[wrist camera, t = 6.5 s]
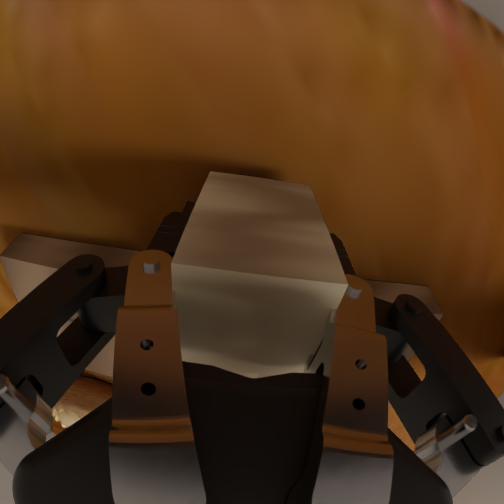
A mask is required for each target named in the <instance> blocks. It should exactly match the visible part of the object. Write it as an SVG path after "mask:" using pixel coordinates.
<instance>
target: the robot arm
mask: <svg viewBox="0 0 504 504" xmlns="http://www.w3.org/2000/svg"><path fill="white" fill-rule="evenodd" d="M195 204H196V202H190V201H188V202H187V203H186V205H185V207H184V209H183V212H182V213H180V212H172V213H171V214H169V215H167V216H166V217H165V218H164V219H163V221H162V223H161V226H160V227H159V228H158V230H157V232H156V234H155V236H154V237H153V239H152V241H151V243H150V245H149V247H148V249H147V250H145V251H141V252H139V253H137V254H135V255H134V256H133V257H132V258H131V260H130V262H129V265H126V266H120V267H108V268H105V264H104V261H103V259H102V258H101V257H99V256H97V255H93V254H83V255H79V256H76V257H74V258H72V259H71V260H70V261H68V262H67V263H66V264H64V265H63V266H62V267H61V268H59V269H58V270H57V271H55V272H54V273H53V274H52V275H50V276H49V277H48V278H47V279H46V280H44V281H43V282H42V283H41V284H39V285H38V286H37V287H36V288H35V289H34V290H32V291H31V292H30V293H29V294H28V295H27V296H25V297H24V298H23V299H22V300H21V301H20V302H18V303H17V304H16V305H15V306H14V307H13V308H12V309H11V310H10V311H8V312H7V313H6V314H5V315H4V316H3V317H2V318H1V319H0V461H1V463H2V464H3V465H4V466H5V467H6V468H7V469H8V470H9V472H10V473H11V474H12V475H13V476H14V478H13V497H14V501H15V504H453V501H452V498H453V497H454V496H455V495H456V494H457V493H458V492H459V491H460V490H461V489H462V488H463V487H464V486H465V485H466V484H467V483H468V482H469V481H470V480H471V479H472V478H473V477H474V476H475V475H476V474H477V473H478V472H479V470H480V469H482V468H484V467H485V466H487V465H489V464H491V463H493V462H494V461H496V460H498V459H499V458H501V457H503V456H504V409H503V407H502V406H501V404H500V403H499V401H498V400H497V398H496V397H495V395H494V394H493V392H492V391H491V389H490V388H489V386H488V385H487V383H486V382H485V380H484V379H483V378H482V376H481V375H480V373H479V372H478V371H477V369H476V368H475V367H474V365H473V364H472V363H471V361H470V360H469V359H468V357H467V356H466V355H465V353H464V352H463V351H462V349H461V348H460V347H459V345H458V344H457V343H456V342H455V340H454V339H453V338H452V337H451V335H450V334H449V333H448V332H447V330H446V329H445V328H444V327H443V325H442V324H441V323H440V322H439V321H438V319H437V318H436V317H435V316H434V315H433V313H432V312H431V311H430V310H429V309H428V308H427V306H426V305H425V304H424V303H423V302H422V301H421V300H419V299H418V298H416V297H415V296H412V295H409V294H400V295H398V296H397V297H396V299H395V301H394V302H393V303H391V302H388V301H385V300H382V299H379V298H377V297H374V293H373V290H372V288H371V286H370V285H369V284H368V283H367V282H366V281H365V280H363V279H361V278H360V277H357V276H356V275H355V272H354V270H353V267H352V265H351V262H350V260H349V258H348V255H347V253H346V251H345V248H344V246H343V243H342V241H341V240H340V239H339V238H338V237H337V236H336V235H335V234H332V233H329V234H330V236H331V239H332V241H333V244H334V247H335V249H336V252H337V255H338V257H339V260H340V263H341V266H342V268H343V271H344V274H345V277H346V279H347V282H348V286H347V289H346V291H345V293H344V295H343V298H342V300H341V302H340V304H339V306H338V308H337V309H331V311H330V313H329V315H328V318H327V320H326V325H325V332H324V337H323V339H322V341H321V343H320V345H319V347H318V349H317V351H316V353H315V355H309V357H308V359H307V361H306V363H305V367H304V372H303V373H293V372H292V373H286V374H280V375H274V376H268V377H261V378H249V377H246V376H243V375H240V374H236V373H233V372H230V371H227V370H225V369H222V368H219V367H216V366H213V365H206V364H199V363H192V362H185V361H182V355H181V346H180V336H179V326H178V315H177V304H176V296H175V290H172V274H171V262H172V260H173V257H174V254H175V252H176V249H177V247H178V244H179V242H180V240H181V237H182V235H183V232H184V230H185V227H186V225H187V223H188V220H189V218H190V215H191V213H192V211H193V208H194V206H195ZM76 312H77V314H78V317H77V318H76V319H75V320H74V321H73V322H72V323H71V324H70V325H69V326H68V327H67V328H66V329H65V330H64V331H63V332H62V333H61V334H60V335H59V336H58V337H57V334H58V331H59V330H60V328H61V327H62V326H63V325H64V324H65V323H66V322H67V321H68V320H69V319H70V318H71V317H72V316H73V315H74V314H75V313H76ZM114 336H115V345H114V361H113V384H112V397H111V398H110V399H108V400H107V401H105V402H104V403H103V404H101V405H100V406H98V407H97V408H95V409H94V410H93V411H91V412H90V413H88V414H87V415H85V416H84V417H82V418H81V419H80V420H78V421H77V422H75V423H74V424H72V425H71V426H69V427H68V428H66V429H65V430H63V431H62V432H60V433H59V434H57V435H56V436H55V437H53V438H51V439H50V440H48V441H47V442H46V436H47V435H49V434H50V433H51V431H52V421H53V414H52V408H53V407H54V406H55V405H56V403H57V402H58V401H59V400H60V398H61V397H62V396H63V395H64V394H65V392H66V391H67V390H68V389H69V388H70V386H71V385H72V384H73V383H74V382H75V380H76V379H77V378H78V377H79V376H80V375H81V373H82V372H83V371H84V370H85V369H86V368H87V366H88V365H89V364H90V363H91V362H92V361H93V359H94V358H95V357H96V356H97V355H98V354H99V353H100V351H101V350H102V349H103V348H104V347H105V346H106V345H107V343H108V342H109V341H110V340H111V339H112V338H113V337H114ZM409 346H410V347H411V348H412V350H413V351H414V352H415V354H416V355H417V357H418V358H419V359H420V361H421V362H422V364H423V365H424V367H425V370H426V376H425V378H424V380H423V381H421V380H420V378H419V377H418V375H417V374H416V373H415V371H414V370H413V368H412V367H411V365H410V364H409V362H408V361H407V360H406V358H405V357H404V355H403V353H404V352H405V351H406V350H407V348H408V347H409ZM388 400H389V402H390V403H391V405H392V407H393V408H394V410H395V412H396V413H397V415H398V417H399V418H400V420H401V422H402V423H403V425H404V427H405V428H406V430H407V432H408V433H409V435H410V437H411V438H412V440H413V442H414V444H415V450H414V451H412V450H411V449H410V448H409V447H408V446H407V445H405V444H404V443H403V442H402V441H401V440H400V439H399V438H398V437H397V436H396V435H395V434H394V433H393V432H392V431H391V430H390V429H389V428H388Z"/></svg>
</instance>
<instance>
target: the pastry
mask: <svg viewBox="0 0 504 504" xmlns="http://www.w3.org/2000/svg"><path fill="white" fill-rule="evenodd" d="M111 397H112V385H111V384H109V383H106V382H104V381H100V380H97V379H94V378H90V377H83V376H79V377H78V378H77V379H76V380H75V382H74V383H73V384H72V385H71V386H70V388H69V389H68V390H67V391H66V392H65V394H64V395H63V396H62V397H61V398H60V400H59V401H58V402H57V403H56V405H55V406H54V407H53V408H52V414H53V417H54V418H55V420H56V421H57V422H58V421H60V422H61V424H62V426H63V427H64V428H66V427H69V426H71V425H72V424H74V423H75V422H77V421H78V420H80V419H81V418H82V417H84V416H85V415H87V414H88V413H90V412H91V411H93V410H94V409H95V408H97V407H98V406H100V405H101V404H103V403H104V402H105V401H107V400H108V399H110V398H111Z"/></svg>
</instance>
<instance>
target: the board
mask: <svg viewBox="0 0 504 504" xmlns="http://www.w3.org/2000/svg"><path fill="white" fill-rule="evenodd" d="M139 252H141V251H136V250H129V249H122V248H115V247H109V246H102V245H95V244H88V243H81V242H75V241H68V240H62V239H55V238H49V237H42V236H36V235H29V234H23V233H21V234H20V235H19V236H18V237H17V238H16V239H15V240H14V241H13V242H12V243H11V244H10V245H9V246H8V247H7V248H6V249H5V250H4V251H3V252H2V253H1V255H0V259H1V261H2V264H3V267H4V269H5V272H6V274H7V277H8V279H9V282H10V284H11V286H12V289H13V291H14V293H15V295H16V298H17V300H18V302H20V301H21V300H22V299H23V298H24V297H25V296H27V295H28V294H29V293H30V292H31V291H32V290H34V289H35V288H36V287H37V286H38V285H39V284H41V283H42V282H43V281H44V280H46V279H47V278H48V277H49V276H50V275H52V274H53V273H54V272H55V271H57V270H58V269H59V268H61V267H62V266H63V265H64V264H66V263H67V262H68V261H70V260H71V259H72V258H74V257H76V256H79V255H83V254H93V255H97V256H99V257H101V258H102V259H103V261H104V264H105V268H108V267H120V266H126V265H129V262H130V260H131V258H132V257H133V256H134V255H135V254H137V253H139ZM363 280H365V279H363ZM365 281H366V282H367V283H368V284H369V285H370V286H371V288H372V290H373V293H374V297H377V298H379V299H382V300H385V301H388V302H391V303H393V302H394V301H395V299H396V297H397V296H398V295H400V294H409V295H412V296H415V297H416V298H418V299H419V300H421V301H422V302H423V303H424V304H425V305H426V306H427V308H428V309H429V310H430V311H431V312H432V313H433V315H434V316H435V317H436V318H437V319H438V321H439V320H440V319H441V318H442V316H443V315H444V314H443V312H442V310H441V308H440V307H439V305H438V303H437V301H436V300H435V298H434V296H433V294H432V293H431V291H430V289H429V287H428V286H420V285H411V284H401V283H392V282H383V281H374V280H365ZM77 317H78V314H77V312H76V313H75V314H74V315H73V316H72V317H71V318H70V319H69V320H68V321H67V322H66V323H65V324H64V325H63V326H62V327H61V328H60V330H59V331H58V334H57V337H58V336H59V335H60V334H61V333H62V332H63V331H64V330H65V329H66V328H67V327H68V326H69V325H70V324H71V323H72V322H73V321H74V320H75V319H76V318H77ZM114 345H115V336H114V337H113V338H112V339H111V340H110V341H109V342H108V343H107V345H106V346H105V347H104V348H103V349H102V350H101V351H100V353H99V354H98V355H97V356H96V357H95V358H94V359H93V361H92V362H91V363H90V364H89V365H88V366H87V368H86V369H85V370H88V371H92V372H95V373H99V374H102V375H106V376H110V377H113V361H114ZM414 354H415V352H414V351H413V350H412V348H411V347H410V346H409V347H408V348H407V350H406V351H405V352H404V353H403V355H404V357H405V358H406V360H407V361H409V360H410V359H411V357H412V356H413V355H414ZM268 376H274V375H268V374H258V377H257V378H261V377H268Z"/></svg>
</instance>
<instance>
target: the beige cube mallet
mask: <svg viewBox="0 0 504 504" xmlns="http://www.w3.org/2000/svg"><path fill="white" fill-rule="evenodd" d="M171 274H172V290H175V296H176V304H177V315H178V326H179V336H180V346H181V355H182V361H185V362H192V363H199V364H206V365H213V366H216V367H219V368H222V369H225V370H227V371H230V372H233V373H236V374H240V375H243V376H246V377H249V378H257V377H258V374H268V375H280V374H286V373H292V372H293V373H303V372H304V367H305V363H306V361H307V359H308V357H309V355H315V353H316V351H317V349H318V347H319V345H320V343H321V341H322V339H323V337H324V332H325V325H326V320H327V318H328V315H329V313H330V311H331V309H337V308H338V306H339V304H340V302H341V300H342V298H343V295H344V293H345V291H346V289H347V286H348V282H347V279H346V277H345V274H344V271H343V268H342V266H341V263H340V260H339V257H338V255H337V252H336V249H335V247H334V244H333V241H332V239H331V236H330V234H329V231H328V229H327V226H326V224H325V221H324V219H323V216H322V214H321V211H320V209H319V206H318V204H317V202H316V199H315V197H314V194H313V192H312V190H311V187H310V186H309V185H303V184H297V183H291V182H285V181H279V180H273V179H266V178H259V177H252V176H245V175H237V174H229V173H221V172H212V171H210V173H209V175H208V177H207V179H206V181H205V184H204V186H203V188H202V190H201V192H200V195H199V197H198V199H197V202H196V204H195V206H194V208H193V211H192V213H191V215H190V218H189V220H188V223H187V225H186V227H185V230H184V232H183V235H182V237H181V240H180V242H179V244H178V247H177V249H176V252H175V254H174V257H173V260H172V262H171Z"/></svg>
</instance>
